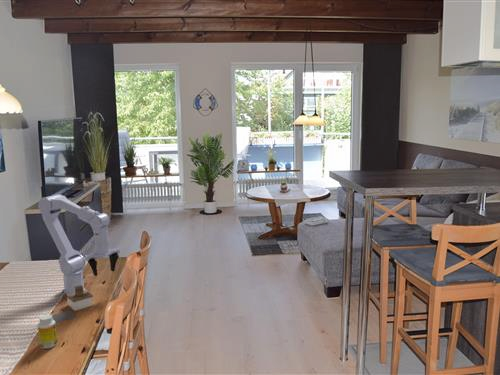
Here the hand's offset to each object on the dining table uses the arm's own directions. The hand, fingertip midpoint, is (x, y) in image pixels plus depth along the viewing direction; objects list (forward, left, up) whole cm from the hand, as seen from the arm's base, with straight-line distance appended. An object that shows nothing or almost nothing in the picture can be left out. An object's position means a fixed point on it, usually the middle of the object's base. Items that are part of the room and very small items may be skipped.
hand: (104, 273), depth 194 cm
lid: (+3, -12, -6) cm, 14 cm away
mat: (+8, -21, -10) cm, 25 cm away
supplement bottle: (+27, -32, -11) cm, 43 cm away
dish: (+3, -12, -10) cm, 16 cm away
